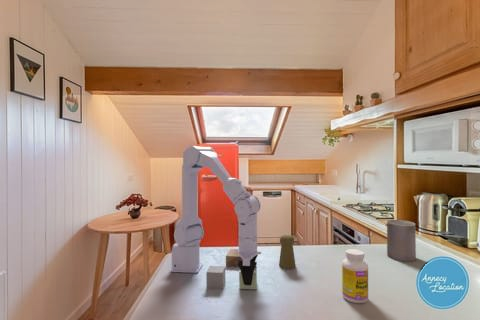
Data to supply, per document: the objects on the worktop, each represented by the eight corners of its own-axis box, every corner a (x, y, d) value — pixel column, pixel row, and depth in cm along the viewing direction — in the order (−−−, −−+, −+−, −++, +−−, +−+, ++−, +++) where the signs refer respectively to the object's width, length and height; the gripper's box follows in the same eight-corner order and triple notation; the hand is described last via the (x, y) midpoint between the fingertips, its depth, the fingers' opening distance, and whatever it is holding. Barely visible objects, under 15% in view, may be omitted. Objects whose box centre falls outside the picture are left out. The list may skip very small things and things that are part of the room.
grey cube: (206, 288, 82) (206, 272, 82) (209, 281, 87) (209, 265, 87) (222, 289, 81) (222, 272, 81) (225, 282, 86) (225, 266, 86)
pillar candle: (384, 252, 112) (384, 216, 112) (411, 254, 110) (410, 216, 110) (390, 260, 103) (390, 221, 103) (420, 263, 100) (419, 222, 100)
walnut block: (225, 266, 99) (225, 255, 99) (230, 259, 107) (230, 248, 107) (247, 268, 98) (247, 257, 98) (250, 260, 106) (250, 249, 106)
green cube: (239, 288, 81) (239, 272, 81) (241, 281, 86) (240, 265, 86) (256, 289, 80) (256, 272, 80) (256, 281, 85) (256, 266, 85)
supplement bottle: (355, 306, 71) (355, 257, 71) (337, 295, 77) (336, 249, 77) (374, 301, 73) (373, 253, 74) (354, 290, 80) (354, 246, 80)
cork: (295, 269, 95) (295, 238, 95) (278, 268, 96) (278, 237, 96) (295, 263, 101) (295, 233, 101) (279, 262, 102) (279, 233, 102)
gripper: (260, 243, 76) (260, 292, 76) (261, 230, 90) (261, 271, 90) (235, 243, 76) (235, 291, 76) (240, 229, 91) (240, 270, 91)
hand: (248, 280), depth 83 cm, fingers closed on green cube, 5 cm apart
